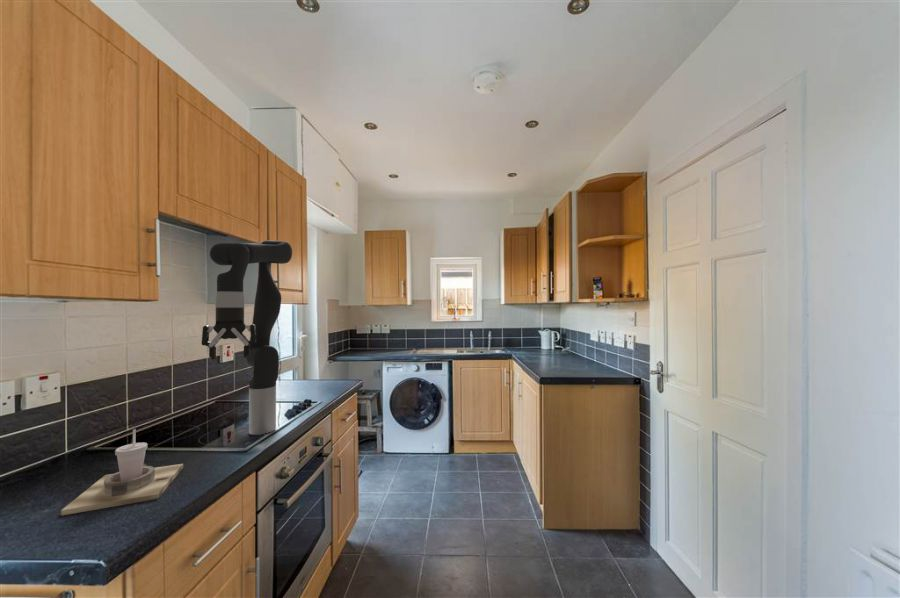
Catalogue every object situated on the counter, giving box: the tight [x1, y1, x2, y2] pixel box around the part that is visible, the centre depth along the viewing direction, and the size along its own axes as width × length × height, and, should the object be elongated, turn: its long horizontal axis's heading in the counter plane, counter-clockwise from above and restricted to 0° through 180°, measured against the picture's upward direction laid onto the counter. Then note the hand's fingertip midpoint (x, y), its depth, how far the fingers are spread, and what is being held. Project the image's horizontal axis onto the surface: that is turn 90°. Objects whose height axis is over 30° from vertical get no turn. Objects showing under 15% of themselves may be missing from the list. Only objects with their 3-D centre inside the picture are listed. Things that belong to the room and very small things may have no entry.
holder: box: [60, 463, 184, 516], centre depth 91 cm, size 18×18×4 cm
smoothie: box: [114, 428, 148, 481], centre depth 91 cm, size 6×6×14 cm
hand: (229, 358), depth 107 cm, fingers open, 8 cm apart
